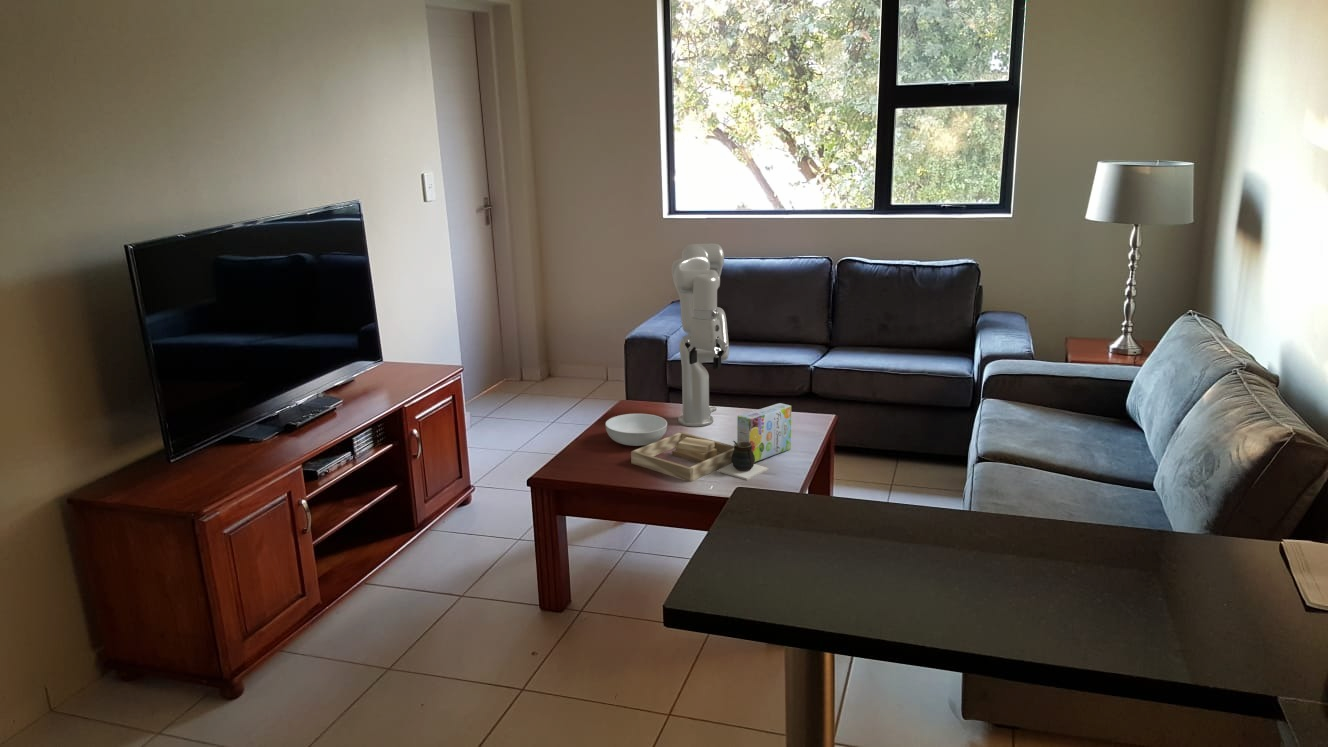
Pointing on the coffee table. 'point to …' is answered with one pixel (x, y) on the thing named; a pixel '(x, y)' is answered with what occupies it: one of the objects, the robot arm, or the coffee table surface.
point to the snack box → (766, 430)
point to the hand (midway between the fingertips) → (705, 365)
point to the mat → (743, 474)
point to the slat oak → (697, 453)
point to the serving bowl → (636, 429)
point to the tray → (647, 460)
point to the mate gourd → (743, 456)
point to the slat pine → (696, 444)
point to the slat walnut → (687, 457)
